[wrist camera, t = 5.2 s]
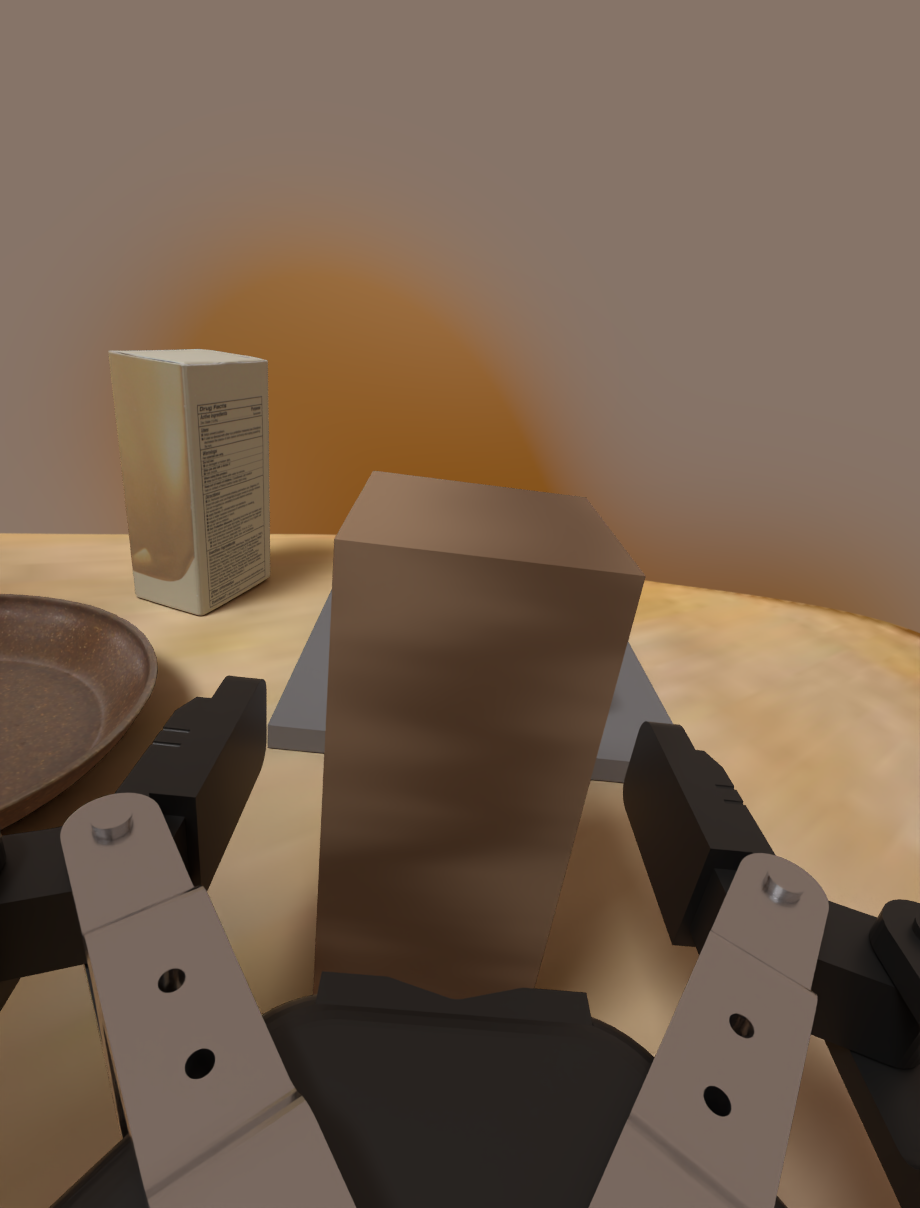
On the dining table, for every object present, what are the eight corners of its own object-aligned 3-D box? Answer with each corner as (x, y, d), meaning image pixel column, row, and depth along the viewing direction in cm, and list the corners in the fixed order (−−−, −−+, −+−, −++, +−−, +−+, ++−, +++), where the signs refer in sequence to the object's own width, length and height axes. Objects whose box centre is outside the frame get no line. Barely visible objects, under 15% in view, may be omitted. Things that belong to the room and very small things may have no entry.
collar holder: (267, 747, 23) (267, 665, 21) (335, 595, 35) (338, 538, 34) (689, 789, 24) (716, 712, 22) (607, 626, 36) (621, 571, 35)
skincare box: (211, 563, 38) (202, 347, 33) (273, 579, 36) (274, 359, 31) (127, 599, 32) (101, 345, 27) (197, 620, 31) (184, 359, 26)
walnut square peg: (310, 1055, 14) (334, 539, 9) (344, 886, 18) (373, 470, 13) (512, 1069, 14) (646, 575, 9) (499, 899, 18) (586, 497, 13)
